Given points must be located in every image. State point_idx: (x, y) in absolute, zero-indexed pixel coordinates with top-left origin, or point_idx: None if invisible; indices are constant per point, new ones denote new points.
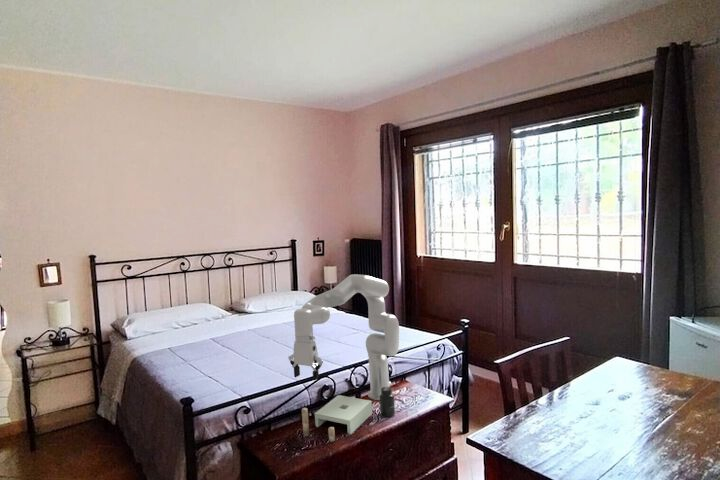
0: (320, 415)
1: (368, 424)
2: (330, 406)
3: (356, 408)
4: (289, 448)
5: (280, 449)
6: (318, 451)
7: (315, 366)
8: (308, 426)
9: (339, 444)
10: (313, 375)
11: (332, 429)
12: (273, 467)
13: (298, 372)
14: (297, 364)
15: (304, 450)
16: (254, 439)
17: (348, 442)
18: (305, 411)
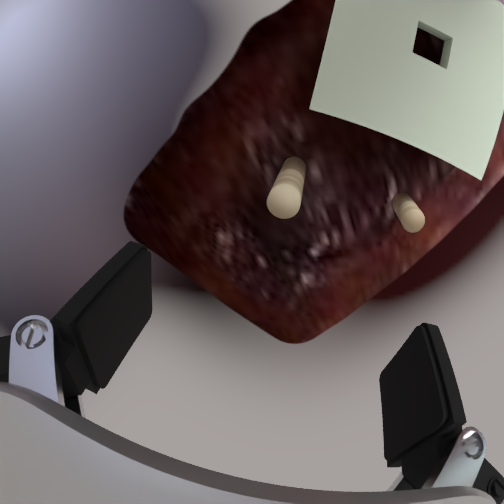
0: (343, 118)
1: None
2: (365, 33)
3: (488, 70)
4: (271, 256)
5: (245, 262)
6: (369, 266)
7: (433, 473)
8: (304, 176)
9: (427, 227)
10: (391, 421)
11: (419, 228)
12: (267, 328)
13: (130, 298)
14: (46, 363)
15: (323, 263)
16: (141, 219)
17: (452, 215)
18: (294, 212)
